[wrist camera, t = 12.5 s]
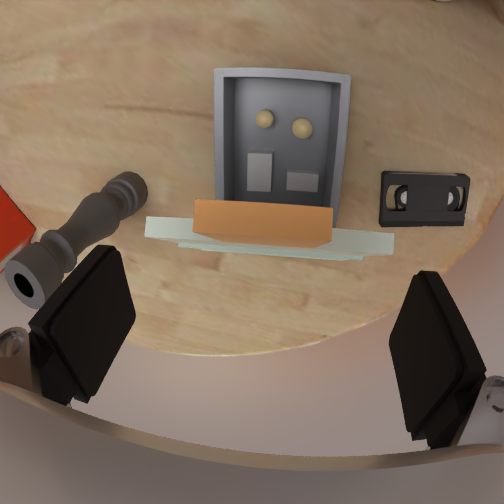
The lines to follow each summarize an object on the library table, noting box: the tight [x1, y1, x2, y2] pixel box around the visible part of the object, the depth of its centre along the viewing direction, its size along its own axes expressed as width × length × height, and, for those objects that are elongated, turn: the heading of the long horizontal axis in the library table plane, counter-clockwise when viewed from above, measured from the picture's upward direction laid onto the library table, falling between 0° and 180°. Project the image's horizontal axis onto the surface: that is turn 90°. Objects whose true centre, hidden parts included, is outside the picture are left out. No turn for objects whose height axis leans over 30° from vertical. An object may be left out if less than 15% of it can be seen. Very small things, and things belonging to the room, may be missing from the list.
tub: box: [214, 68, 351, 228], centre depth 36 cm, size 14×20×8 cm
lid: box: [145, 199, 394, 261], centre depth 24 cm, size 14×26×2 cm
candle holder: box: [4, 172, 148, 309], centre depth 34 cm, size 6×6×25 cm
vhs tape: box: [379, 171, 470, 227], centre depth 39 cm, size 14×8×2 cm, turn 96°
